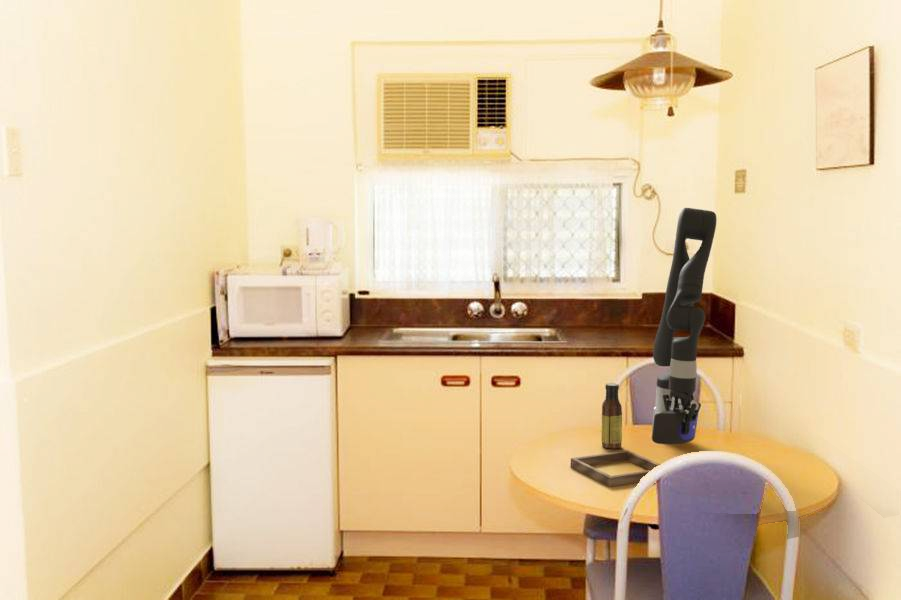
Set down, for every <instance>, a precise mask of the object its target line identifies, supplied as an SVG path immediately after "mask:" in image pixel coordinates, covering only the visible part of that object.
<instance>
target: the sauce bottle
mask: <svg viewBox="0 0 901 600" xmlns="http://www.w3.org/2000/svg"><path fill="white" fill-rule="evenodd" d="M604 387H605V399H604V400H603V402H602V404H601V405H602V406H601V436H600V437H601V446H602V447H603V448H605V449H609V450H610V449H612V450H616V449H620V448H621V447H622V441H623V411H622V409H623V408H622V404H621V401H620V400H619V390H620V386H619V383H615V382H609V383H605V386H604Z"/></svg>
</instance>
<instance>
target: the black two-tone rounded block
mask: <svg viewBox="0 0 901 600" xmlns="http://www.w3.org/2000/svg"><path fill="white" fill-rule="evenodd" d="M684 411H687V410H684ZM692 416H693V415H692ZM698 417H699V414H698V415H697V417H696V420H695V421H691V422H690V427H689V433H688V434H686V435H683V434H681V428H682V414H680V410H672V411H663V412H658V413H656V414H655V417H654V425H653V424H652V425H653V433H652V432H651V440H652V442H653V443H654V444H658V445H683V444H687V443H690V442H692V441H694V440H695V438H696V432H697V431H696V430H697V424H698ZM686 418H687V414H686Z"/></svg>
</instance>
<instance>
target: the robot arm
mask: <svg viewBox="0 0 901 600" xmlns="http://www.w3.org/2000/svg"><path fill="white" fill-rule="evenodd" d="M716 228H717V214H716V213H715V211H712V210H707V209H700V208H699V209H698V208H693V207H684V208H682V209H681V210H680V212H679V216H678V220H677V225H676V233H675V240H674V241H675V242H674V248H673V255H672V261H671V266H670V271H669V275H668V279H667V283H666V284H667V285H666V290H665V298H664V302H663V307H662V312H661V318H660V322H659V325H658V327H657V332H656V336H655V338H654V342H653V349H652V358H653V361H654V364H656V365H657V366H659V367H669V369H668V371H666V372H665V373H663V374H661V375H659V376H658V377H656V378H657V379H656V390H655V391H656V392H655V407H653V409H652V426H651V427H652V428H651V429H652V430H651V434H652V433H653V425H654V417H655V414H656V413H658V412H663V411H672V410H680V414H682V428H681V434H683V435H686V434H688V433H689V427H690V422H691V421H695V420H696V417H697V415H698V416H699V412H700V409H701V407H702V404H701V403H700V402H696V401H695V398H694V393H695V392H696V387H697V386H696V385H697V369H698V368H697V367H698V366H697V352H698V351H697V350H698V343H699V339H700V334H701V332H702V330H703V327H704V324H705V321H706V313H705V312H704V310H703V308H701V307H699V306H694V304H695V303H698V302H700V300H701V299H702V295H703V294H702V293H703V289H704V288H703V287H704V280H705V279H704V278H705V272H706V268H707V265H708V261H709V258H710V254H711V250H712V246H713V243H714V237H715V233H716ZM687 239H689V240H696V241H701V244H700V246H699V248H698V249H697V251H696V252H695V253H694V254H693V256H692V257H691V258H690V256H689V252H688V249H687V243H686V242H687ZM676 331H688V332H689V331H690V334H689V335H688V336H685V337H683V336H676V337H675V336H674V335H675V333H676ZM684 410H687V411H684ZM686 414H687V418H686ZM692 415H693V416H692Z"/></svg>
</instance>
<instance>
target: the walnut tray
mask: <svg viewBox="0 0 901 600" xmlns="http://www.w3.org/2000/svg"><path fill="white" fill-rule="evenodd" d="M624 461H628V462H629V463H631V464H634V465H637V466H638V467H641V468H643V469H645V470H641V471H635V472H629V473H623V474H617V475H616V474H615V475H610V474H608V473H606V472H604V471H602V470H601V469H598V468H595V467H594V466H597V465H601V464H611V463H616V462H624ZM658 465H661V464H660V463H657V462H655V461H653V460H651V459H649V458H646V457H644V456H642V455H639V454H637V453H634V452H633V451H630V450H622V451H613V452H607V453H598V454H592V455H584V456H577V457H571V458H570V468H571V469H574V470H575V471H578V472H580V473H582V474H583V475H586V476H588V477H590V478H591V479H593V480H595V481H597V482H599V483H600V484H604V485H605V486H607V487H608V488H611V487H612V488H613V487H617V486H626V485H630V484H631V485H632V484H637V483H640V482H639V481H640V479H641V478H642V477H643V476H645V475H646V474H647V473H648V472H649V471H651V470H652V469H653V468H654V467H656V466H658Z"/></svg>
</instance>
